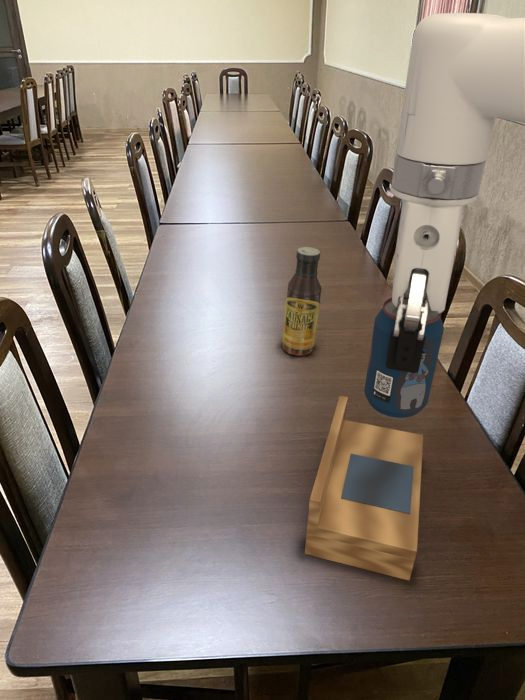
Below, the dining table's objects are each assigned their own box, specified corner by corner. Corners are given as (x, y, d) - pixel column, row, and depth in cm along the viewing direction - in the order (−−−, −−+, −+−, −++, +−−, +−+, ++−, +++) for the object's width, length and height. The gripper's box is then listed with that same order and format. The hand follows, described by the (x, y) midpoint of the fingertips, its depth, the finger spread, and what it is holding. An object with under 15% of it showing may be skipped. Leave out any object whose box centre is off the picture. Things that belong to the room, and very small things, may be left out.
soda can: (385, 379, 64) (400, 287, 58) (437, 404, 60) (460, 308, 54) (350, 403, 60) (363, 307, 54) (404, 432, 56) (425, 331, 50)
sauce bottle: (278, 355, 100) (283, 254, 90) (285, 339, 106) (290, 242, 95) (313, 360, 99) (322, 258, 89) (318, 343, 104) (327, 246, 94)
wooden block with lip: (417, 461, 76) (428, 411, 72) (409, 580, 60) (423, 525, 55) (333, 444, 79) (339, 395, 74) (304, 554, 63) (309, 499, 58)
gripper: (486, 209, 39) (440, 404, 49) (476, 161, 54) (441, 319, 63) (383, 199, 41) (357, 389, 50) (399, 155, 55) (377, 309, 65)
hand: (404, 349), depth 57 cm, fingers closed on soda can, 7 cm apart
